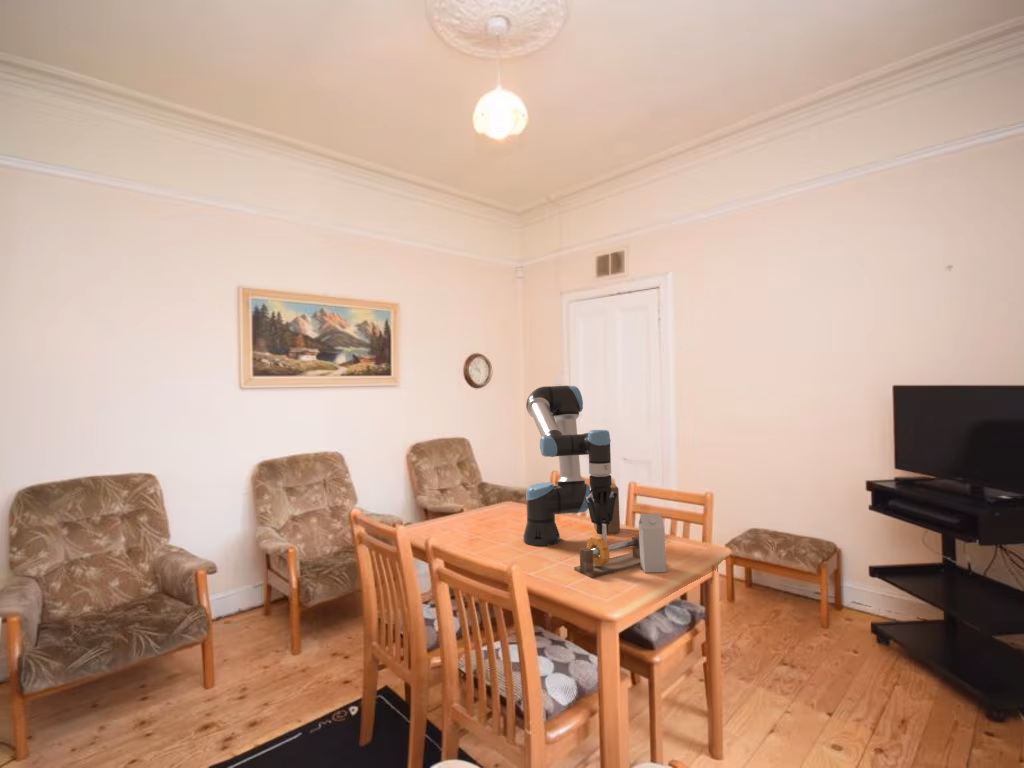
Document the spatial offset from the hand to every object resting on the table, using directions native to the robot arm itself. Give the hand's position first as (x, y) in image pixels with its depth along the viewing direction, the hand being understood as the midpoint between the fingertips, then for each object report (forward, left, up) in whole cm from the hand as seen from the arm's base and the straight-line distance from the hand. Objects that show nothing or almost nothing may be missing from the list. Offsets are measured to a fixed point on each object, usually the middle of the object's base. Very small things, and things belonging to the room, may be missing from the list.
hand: (602, 543), depth 177 cm
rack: (0, +5, -9) cm, 10 cm away
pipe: (0, +5, -4) cm, 6 cm away
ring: (0, -2, -7) cm, 7 cm away
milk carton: (+10, +13, -9) cm, 19 cm away
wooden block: (-36, +33, -9) cm, 49 cm away
